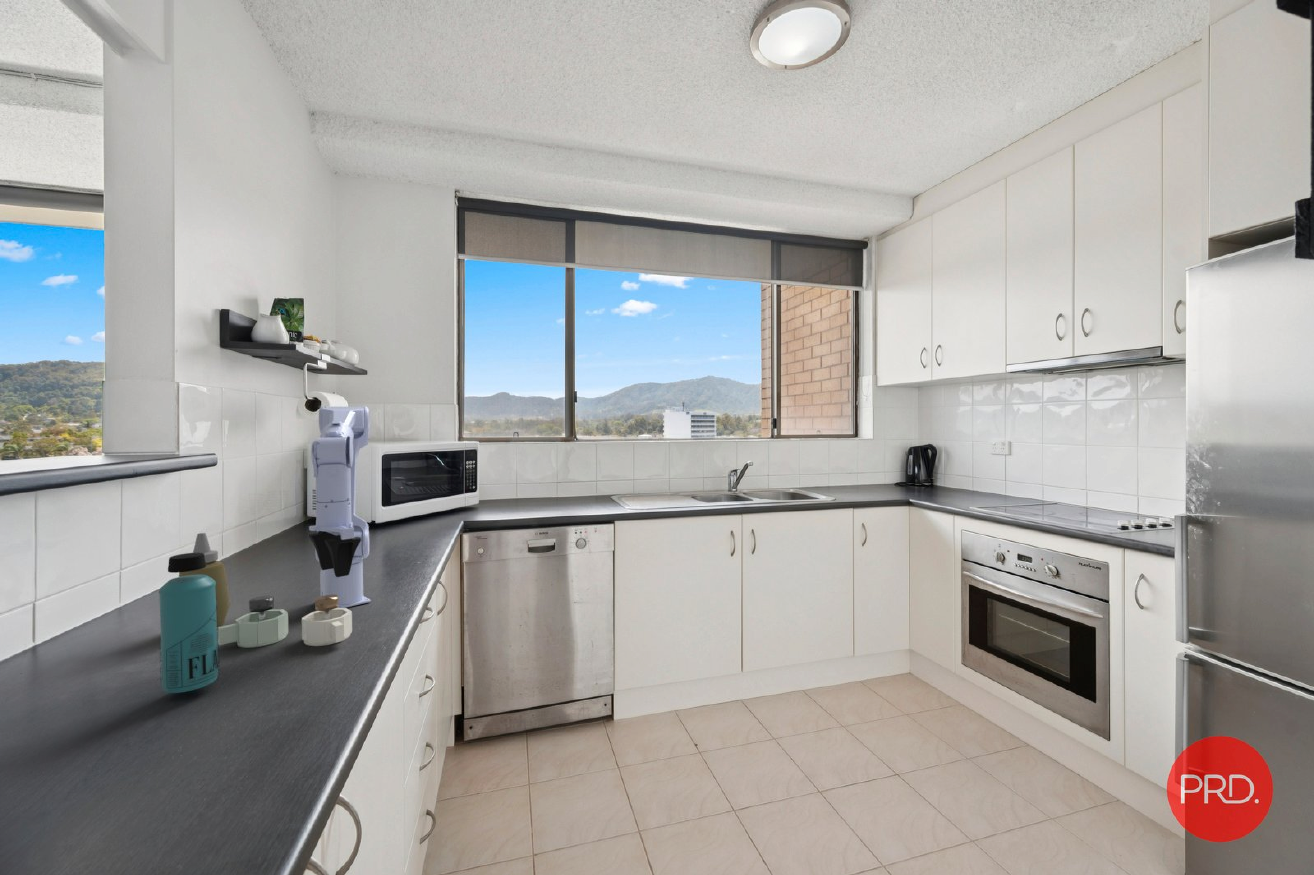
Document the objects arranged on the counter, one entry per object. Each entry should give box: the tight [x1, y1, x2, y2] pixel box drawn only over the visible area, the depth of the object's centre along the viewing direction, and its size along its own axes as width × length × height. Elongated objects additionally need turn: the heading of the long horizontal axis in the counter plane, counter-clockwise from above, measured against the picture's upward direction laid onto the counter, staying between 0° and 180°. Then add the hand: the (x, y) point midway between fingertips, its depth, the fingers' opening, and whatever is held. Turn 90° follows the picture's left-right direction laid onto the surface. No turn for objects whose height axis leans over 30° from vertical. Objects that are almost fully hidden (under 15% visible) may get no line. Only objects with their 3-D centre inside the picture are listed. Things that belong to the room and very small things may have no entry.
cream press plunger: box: [314, 595, 339, 620], centre depth 99 cm, size 5×5×6 cm
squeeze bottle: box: [178, 532, 231, 629], centre depth 104 cm, size 8×8×18 cm
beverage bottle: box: [158, 552, 220, 694], centre depth 79 cm, size 6×7×20 cm
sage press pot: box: [217, 608, 289, 649], centre depth 98 cm, size 10×7×4 cm
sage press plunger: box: [248, 595, 275, 622], centre depth 99 cm, size 5×5×6 cm
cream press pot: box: [301, 607, 353, 647], centre depth 98 cm, size 10×7×4 cm
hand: (335, 572), depth 104 cm, fingers open, 7 cm apart
